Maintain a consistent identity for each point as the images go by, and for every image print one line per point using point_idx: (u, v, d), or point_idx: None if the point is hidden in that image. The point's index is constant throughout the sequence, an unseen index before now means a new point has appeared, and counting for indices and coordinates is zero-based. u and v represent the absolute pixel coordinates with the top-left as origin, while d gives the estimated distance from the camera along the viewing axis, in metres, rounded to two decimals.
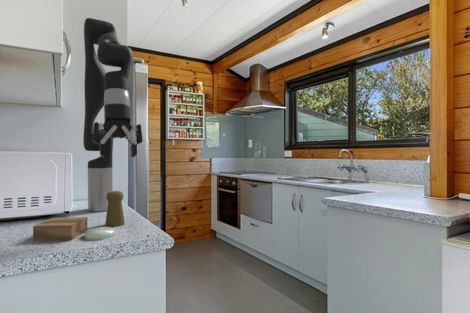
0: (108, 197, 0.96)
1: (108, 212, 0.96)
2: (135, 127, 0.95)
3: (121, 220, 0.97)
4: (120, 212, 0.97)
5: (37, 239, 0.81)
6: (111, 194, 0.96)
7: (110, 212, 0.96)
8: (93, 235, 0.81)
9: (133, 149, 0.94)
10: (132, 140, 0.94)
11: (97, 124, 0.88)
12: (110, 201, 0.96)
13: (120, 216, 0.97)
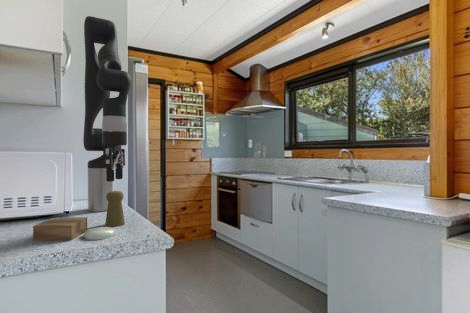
0: (108, 197, 0.96)
1: (108, 212, 0.96)
2: None
3: (121, 220, 0.97)
4: (120, 212, 0.97)
5: (37, 239, 0.81)
6: (111, 194, 0.96)
7: (110, 212, 0.96)
8: (93, 235, 0.82)
9: (122, 172, 1.02)
10: (122, 164, 1.02)
11: (112, 150, 0.92)
12: (110, 201, 0.96)
13: (120, 216, 0.97)
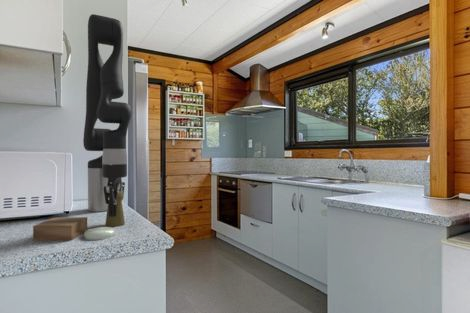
0: None
1: (108, 212, 0.96)
2: None
3: (121, 220, 0.97)
4: (120, 211, 0.97)
5: (37, 239, 0.81)
6: None
7: None
8: (93, 235, 0.82)
9: None
10: None
11: (112, 188, 0.92)
12: None
13: (120, 216, 0.97)
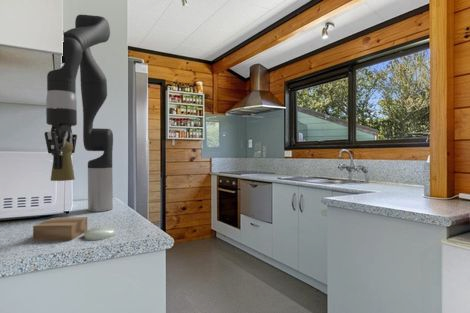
0: None
1: None
2: (71, 136, 0.90)
3: (69, 174, 0.85)
4: (68, 164, 0.84)
5: (37, 239, 0.81)
6: None
7: None
8: (93, 235, 0.82)
9: None
10: None
11: (55, 134, 0.80)
12: None
13: (68, 170, 0.84)
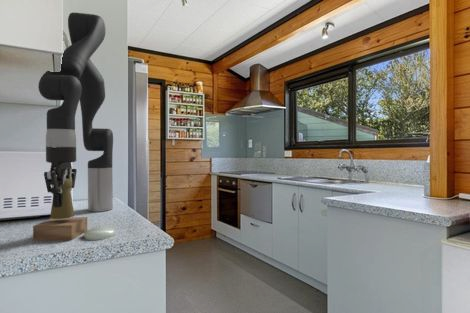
0: None
1: None
2: (71, 170, 0.91)
3: (69, 211, 0.85)
4: (67, 202, 0.85)
5: (37, 239, 0.81)
6: None
7: None
8: (93, 235, 0.81)
9: None
10: None
11: (55, 174, 0.80)
12: None
13: (68, 207, 0.85)
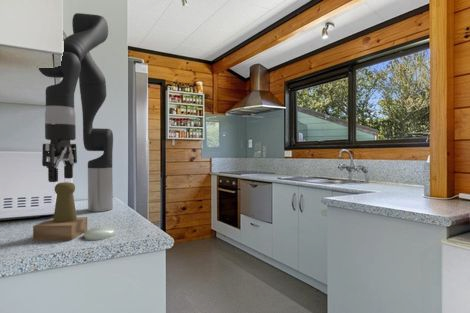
0: (57, 189, 0.85)
1: (57, 206, 0.85)
2: (71, 146, 0.90)
3: (72, 215, 0.87)
4: (71, 205, 0.86)
5: (37, 239, 0.81)
6: (60, 185, 0.85)
7: (59, 206, 0.85)
8: (93, 235, 0.81)
9: (71, 170, 0.90)
10: (72, 161, 0.89)
11: (54, 146, 0.79)
12: (59, 193, 0.85)
13: (71, 211, 0.86)
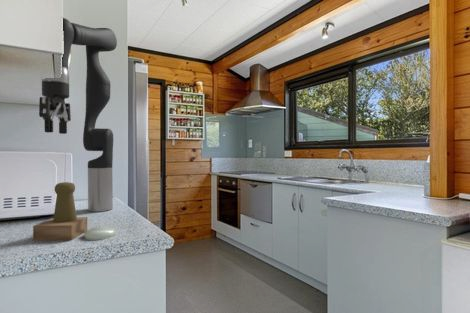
0: (57, 189, 0.85)
1: (57, 206, 0.85)
2: (65, 105, 1.01)
3: (72, 215, 0.87)
4: (71, 205, 0.86)
5: (37, 239, 0.81)
6: (60, 185, 0.85)
7: (59, 206, 0.85)
8: (93, 235, 0.82)
9: (66, 126, 1.00)
10: (66, 118, 1.00)
11: (49, 99, 0.89)
12: (59, 193, 0.85)
13: (71, 211, 0.86)
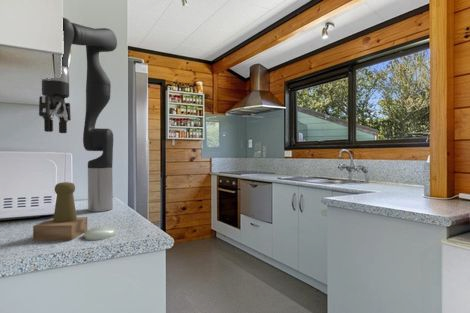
0: (57, 189, 0.85)
1: (57, 206, 0.85)
2: (65, 105, 1.01)
3: (72, 215, 0.87)
4: (71, 205, 0.86)
5: (37, 239, 0.81)
6: (60, 185, 0.85)
7: (59, 206, 0.85)
8: (93, 235, 0.81)
9: (65, 126, 1.00)
10: (66, 117, 1.00)
11: (49, 99, 0.90)
12: (59, 193, 0.85)
13: (71, 211, 0.86)
